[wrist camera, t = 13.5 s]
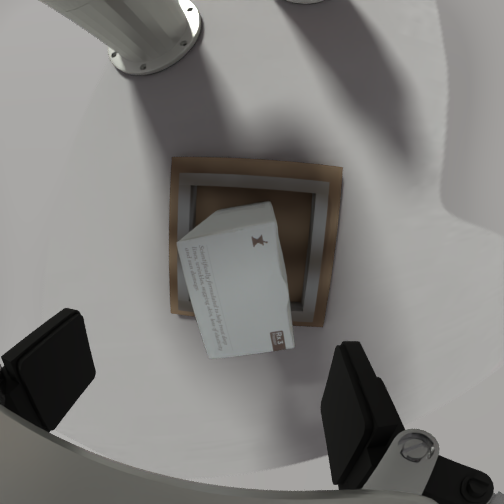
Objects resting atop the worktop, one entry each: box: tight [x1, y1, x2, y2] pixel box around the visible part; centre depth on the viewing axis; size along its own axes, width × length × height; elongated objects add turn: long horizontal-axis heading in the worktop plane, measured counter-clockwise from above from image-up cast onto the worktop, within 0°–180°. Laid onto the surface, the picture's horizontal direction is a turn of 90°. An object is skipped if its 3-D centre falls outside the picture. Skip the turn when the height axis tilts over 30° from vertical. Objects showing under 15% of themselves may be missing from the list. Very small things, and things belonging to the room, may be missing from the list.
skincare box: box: [177, 201, 295, 359], centre depth 23 cm, size 8×6×15 cm
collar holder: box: [169, 157, 343, 327], centre depth 30 cm, size 18×18×4 cm
